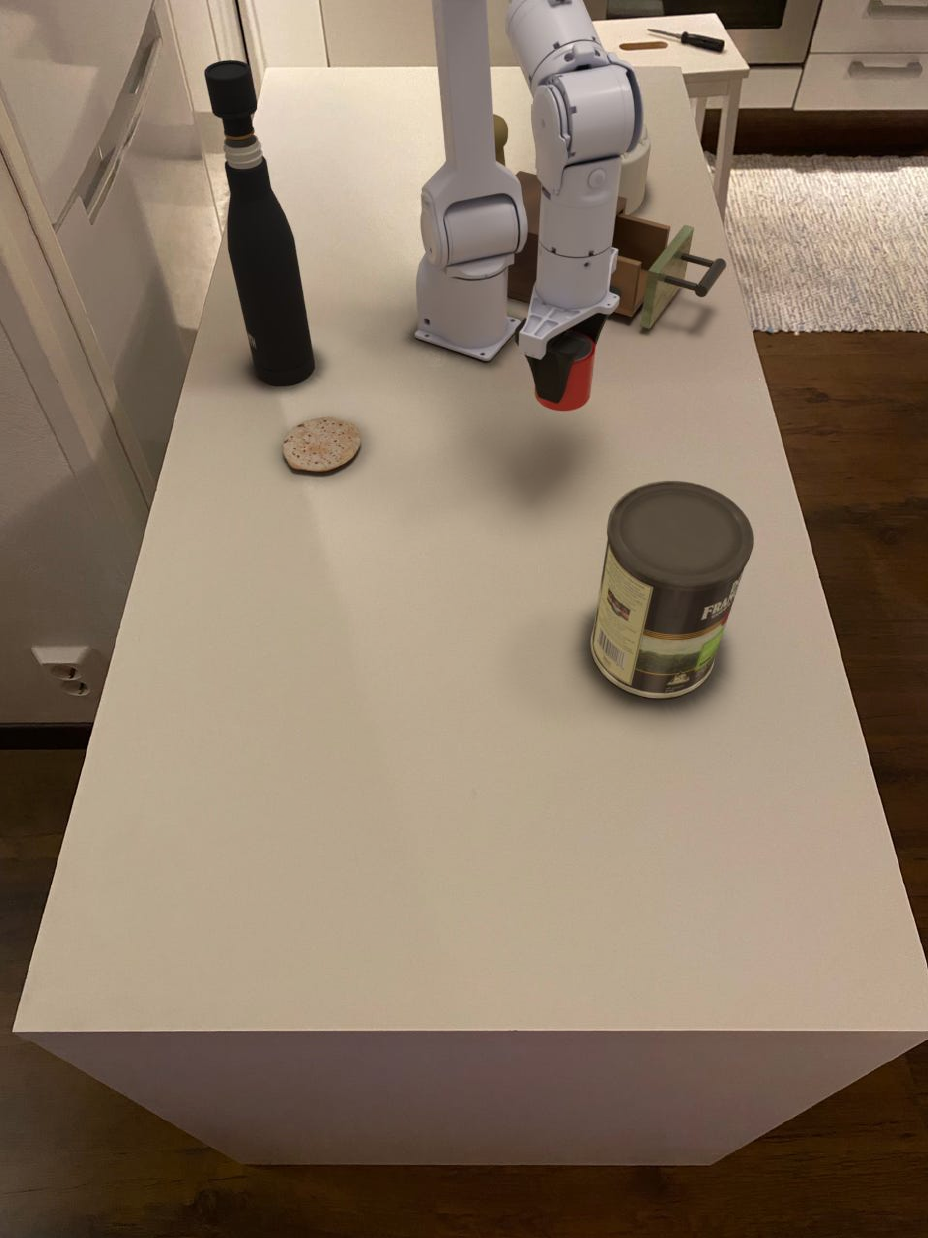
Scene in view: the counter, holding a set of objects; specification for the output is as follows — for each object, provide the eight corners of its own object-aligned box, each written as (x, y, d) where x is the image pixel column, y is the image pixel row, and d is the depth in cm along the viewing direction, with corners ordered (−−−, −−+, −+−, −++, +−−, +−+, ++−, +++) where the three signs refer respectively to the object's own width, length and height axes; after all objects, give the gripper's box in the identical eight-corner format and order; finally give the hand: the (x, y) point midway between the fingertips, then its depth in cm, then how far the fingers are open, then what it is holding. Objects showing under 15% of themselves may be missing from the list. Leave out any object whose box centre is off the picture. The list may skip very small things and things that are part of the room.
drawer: (724, 293, 108) (737, 237, 103) (691, 341, 103) (703, 285, 97) (585, 254, 114) (591, 199, 108) (547, 298, 108) (551, 242, 103)
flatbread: (310, 413, 97) (309, 406, 96) (375, 434, 95) (374, 426, 94) (267, 462, 93) (265, 454, 92) (333, 485, 91) (331, 478, 90)
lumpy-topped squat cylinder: (631, 166, 129) (639, 99, 122) (653, 216, 121) (664, 147, 114) (555, 171, 128) (559, 104, 121) (573, 221, 120) (578, 153, 113)
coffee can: (734, 631, 79) (775, 511, 68) (684, 720, 74) (720, 606, 63) (623, 582, 83) (645, 461, 72) (567, 663, 77) (582, 546, 66)
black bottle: (324, 355, 103) (278, 58, 80) (299, 391, 100) (243, 89, 76) (271, 344, 105) (211, 48, 81) (245, 379, 101) (173, 79, 78)
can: (524, 400, 85) (527, 352, 81) (549, 370, 87) (553, 321, 83) (575, 418, 83) (580, 370, 79) (599, 386, 86) (605, 338, 82)
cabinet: (618, 267, 113) (627, 198, 107) (577, 317, 107) (583, 247, 100) (517, 238, 118) (519, 170, 111) (472, 285, 111) (471, 215, 105)
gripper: (582, 299, 68) (568, 443, 79) (659, 207, 76) (637, 350, 87) (496, 273, 70) (493, 416, 81) (579, 186, 78) (567, 328, 89)
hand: (563, 380), depth 84 cm, fingers closed on can, 5 cm apart
